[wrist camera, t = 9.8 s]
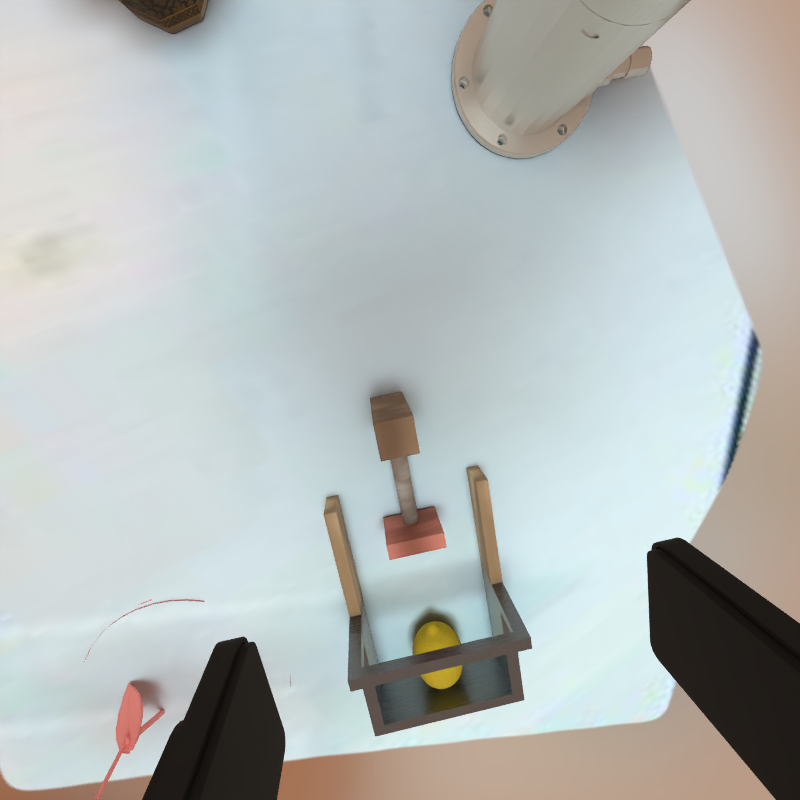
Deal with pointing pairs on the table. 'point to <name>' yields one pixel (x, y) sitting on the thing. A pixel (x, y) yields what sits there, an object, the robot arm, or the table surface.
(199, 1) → the ceramic cup
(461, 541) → the table surface
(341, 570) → the lane
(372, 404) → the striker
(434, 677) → the lemon
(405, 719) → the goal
